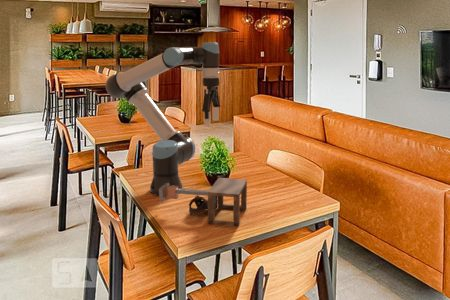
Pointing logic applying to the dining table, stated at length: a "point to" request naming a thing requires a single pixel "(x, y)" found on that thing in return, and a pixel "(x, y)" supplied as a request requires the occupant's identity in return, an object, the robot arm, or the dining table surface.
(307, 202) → the dining table surface
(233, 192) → the walnut stool
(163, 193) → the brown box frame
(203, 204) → the pottery mug
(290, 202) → the dining table surface
